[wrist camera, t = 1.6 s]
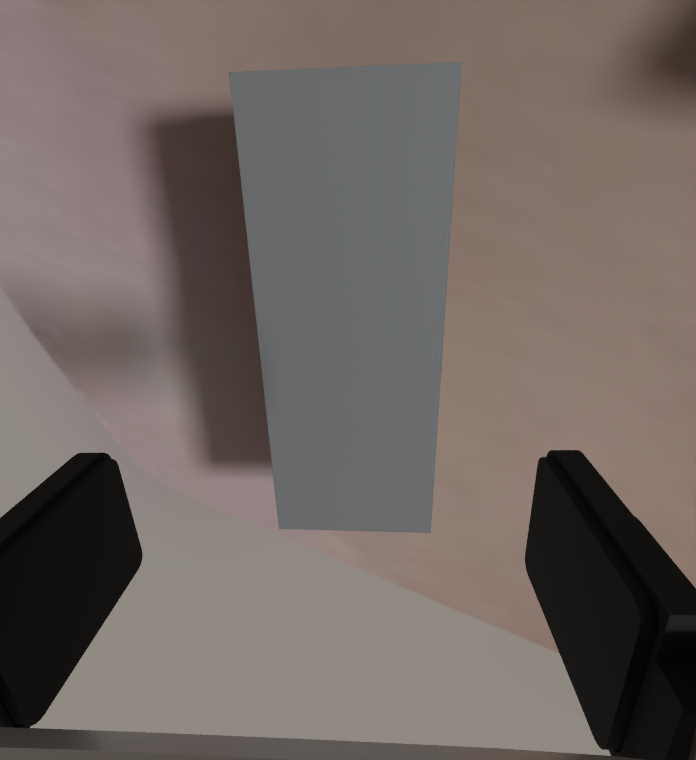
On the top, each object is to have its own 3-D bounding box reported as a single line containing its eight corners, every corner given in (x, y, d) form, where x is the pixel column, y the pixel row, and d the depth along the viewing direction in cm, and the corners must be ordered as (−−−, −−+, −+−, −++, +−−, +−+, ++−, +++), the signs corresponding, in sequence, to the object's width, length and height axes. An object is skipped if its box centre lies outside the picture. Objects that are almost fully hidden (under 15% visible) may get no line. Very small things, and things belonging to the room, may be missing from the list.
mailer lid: (252, 90, 17) (228, 72, 14) (447, 82, 17) (461, 62, 14) (290, 490, 25) (279, 528, 22) (424, 493, 24) (430, 532, 22)
